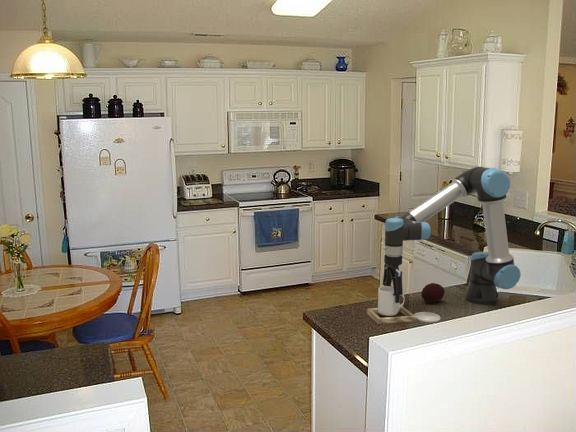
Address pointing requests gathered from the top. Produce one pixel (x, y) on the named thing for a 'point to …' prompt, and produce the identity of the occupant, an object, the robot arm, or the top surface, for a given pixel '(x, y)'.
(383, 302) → the mug
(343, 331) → the top surface
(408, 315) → the wooden picture frame
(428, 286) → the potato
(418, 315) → the plate
